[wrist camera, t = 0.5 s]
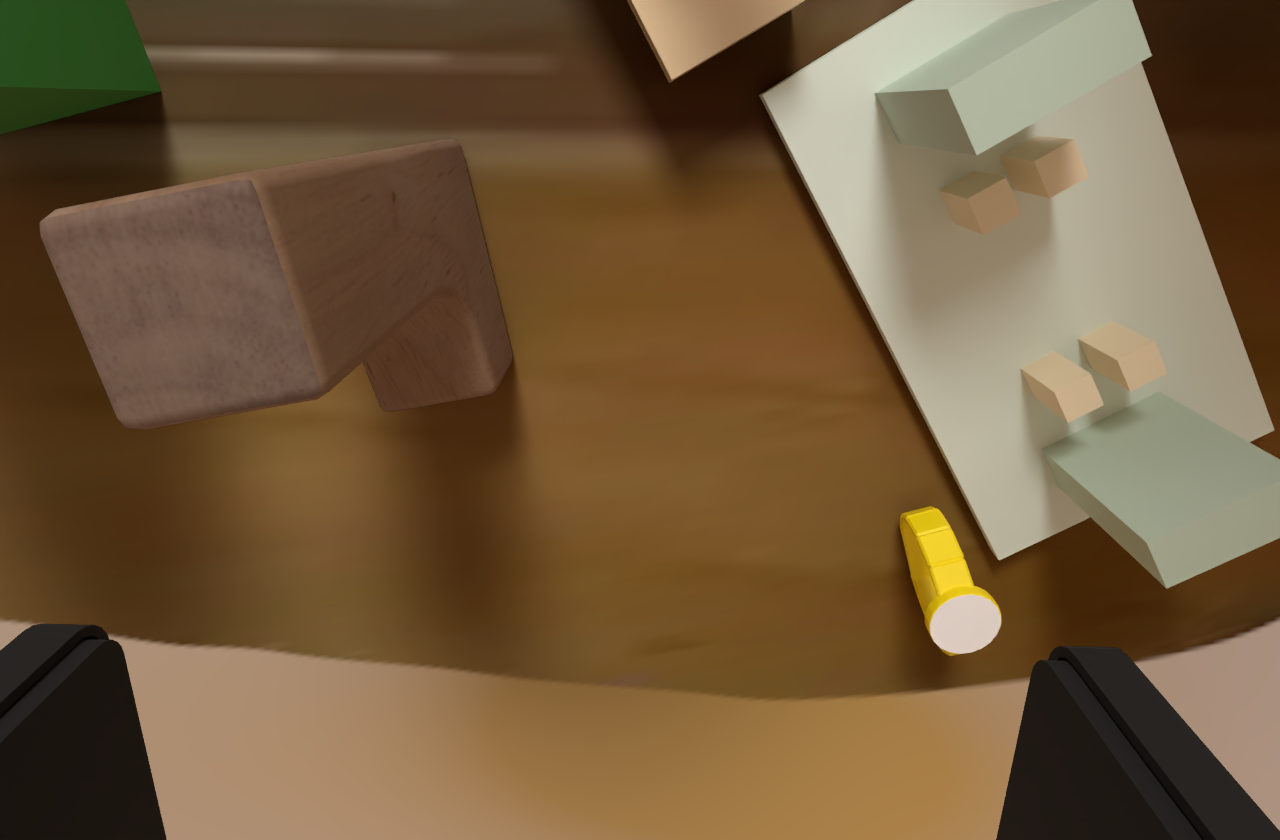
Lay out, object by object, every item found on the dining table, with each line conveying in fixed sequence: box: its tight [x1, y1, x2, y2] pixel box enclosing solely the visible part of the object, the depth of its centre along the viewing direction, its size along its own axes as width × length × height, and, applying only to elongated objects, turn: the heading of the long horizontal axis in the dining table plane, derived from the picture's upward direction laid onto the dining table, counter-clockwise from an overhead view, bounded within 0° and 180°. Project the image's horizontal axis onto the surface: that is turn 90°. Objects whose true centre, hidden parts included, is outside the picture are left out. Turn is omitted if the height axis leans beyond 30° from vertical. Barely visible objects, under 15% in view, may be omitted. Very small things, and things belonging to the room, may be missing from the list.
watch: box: [900, 506, 1001, 656], centre depth 35 cm, size 6×3×6 cm, turn 17°
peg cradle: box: [759, 0, 1280, 589], centre depth 29 cm, size 12×22×9 cm, turn 31°
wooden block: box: [40, 139, 513, 429], centre depth 25 cm, size 9×4×18 cm, turn 11°
